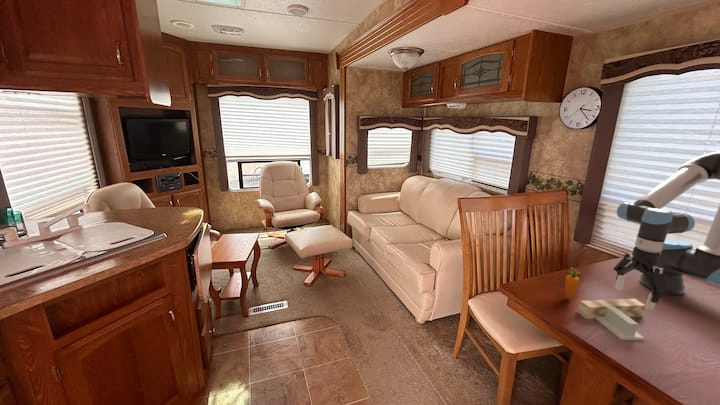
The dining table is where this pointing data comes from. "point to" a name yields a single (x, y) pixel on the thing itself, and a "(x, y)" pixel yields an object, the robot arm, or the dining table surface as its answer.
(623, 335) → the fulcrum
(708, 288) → the dining table surface
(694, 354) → the dining table surface
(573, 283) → the carrot
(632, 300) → the birch bar
